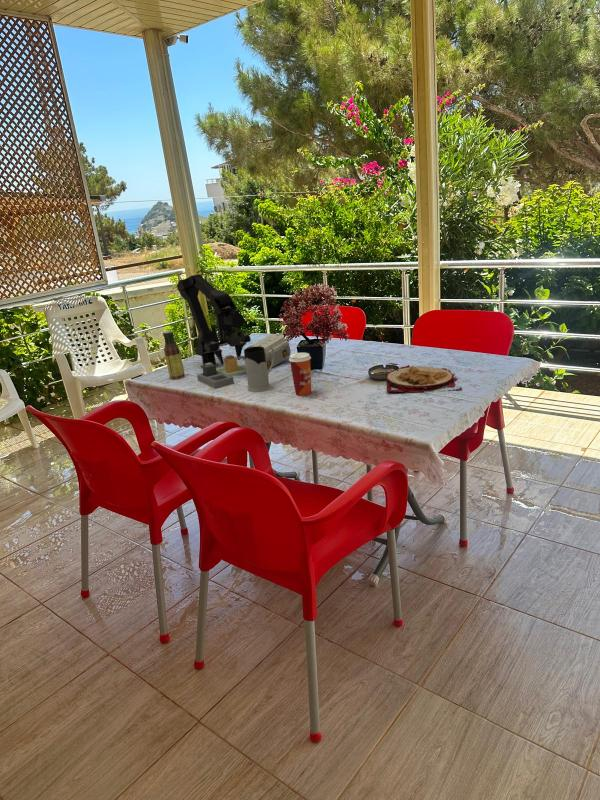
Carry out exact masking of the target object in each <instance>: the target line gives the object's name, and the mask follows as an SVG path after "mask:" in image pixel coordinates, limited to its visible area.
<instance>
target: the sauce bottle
mask: <svg viewBox="0 0 600 800" xmlns="http://www.w3.org/2000/svg"><path fill="white" fill-rule="evenodd" d="M162 336H163V338H164V343H165V344H164V348H163V351H164V357H165V361H166V367H167V370H168V375H169V379H170V380H175V381H176V380H181V379H183V378H185V369H184V364H183V360H182V355H181V350H180V349H179V347H178V345H177V343H176V341H175V337H174V331H172V330H166V331H163V332H162Z"/></svg>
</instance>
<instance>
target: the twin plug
mask: <svg viewBox="0 0 600 800" xmlns="http://www.w3.org/2000/svg"><path fill="white" fill-rule="evenodd" d="M201 366H202V365H201ZM201 368H202V373H203V374H204V376H206V377H208V376H212V375H216V374H217V371H216V369H217V366H216V365H214V364H213V363H206V364H205V365H204V366H202V367H201Z"/></svg>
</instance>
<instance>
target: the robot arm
mask: <svg viewBox="0 0 600 800" xmlns="http://www.w3.org/2000/svg"><path fill="white" fill-rule="evenodd" d="M176 288H177V291H178V292H179V294H180V296H181V298H183V299H184V300H185V301H186V302H187V305H188V308H189V310H190V313H191V316H192V318H193V321H194V323H195V324H194V325H195V327H196V330H197V334H198V335H197V340H196V341H197V346H196V348H195V353H196V355H197V356H200V357H201V360H202V365H200V367H201V368H202V366H204V365H205V364H206V363H213V364H214V365H216V367H219V366H220V365H221V366H224V359H223V358H224V357H223V354H222V353H223V350H222V349H221V347H224V346H228V345H229V347H231V348H232V347H234V350H235V354H236V358H237V357H239V356H242V352H243V348H244V347H245V345H247V343H251V341H252V340H251V336H250V335H249V334H246V333H244V331H243V330H241V331H237V332H236V331H235V328H236V329H239V328H241V327H243V325H244V324H245V317H244V315H243V314H242V313H240V311H239V310H238V308H237V307H236V306H237V305H236V304H235V302H234V301H233V299H232V297H231V296H230V295H229V293H227V292H226V291H224V290H219V289H217V288H216V287H215V286H213V285H212V284H211V283H210V282H209V281H207V280H206V279H205V278H204V275H202V274H199V273H197V274H193V275H190V276H189V277H186V278H185V279H183V278H182V279H180V280H178V282H177V284H176ZM199 292H200V293H202V294H203V295H204V296H205V297H206V299H208V300H209V301H208V302H209V305H210V306H211V307H212V308H213V309H214V311H213V313H212V314H213V315H215V318H216V323H217V327H216V331H217V332H218V335H219V337H218V335H217V332H216V331H215V330H211V329H210V327H209V324H208V321H207V318H206V315H205V313H204V310H203V307H202V305H201V302H200V298H199ZM216 358H217V359H218V361H219V363H220V364H218V363H217V362H216V361H217V360H216Z"/></svg>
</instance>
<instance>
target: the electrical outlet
mask: <svg viewBox="0 0 600 800" xmlns="http://www.w3.org/2000/svg"><path fill="white" fill-rule="evenodd" d="M283 333H284V332H279V333H270V334H268V335H267V336H265V337H263V338H261V339H260V340H259V341H257V342H254V343H253V344H251V345H249V346H248V347H246V348H244V349H243V351H244V350H245V349H247V348H250V347H264V351H265V350H266V349H267V348H268V347H271V348H273V350H274V363H273V367H275V366H277V365H279V364H281V363H282V362H284V360H286V359H288V358H290V355H291V354H292V353H291V346H290V342H289V340H288V341H285V340H284V335H283ZM271 348H269V349H268V350H267V359H266V363H267V370H269V369H270V367H271V364H272V360H273V352H272V349H271ZM236 358H237V361H240V360H242V361H245V356H244V355H241V356H239V357H237V356H236ZM273 367H272V368H273Z"/></svg>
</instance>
